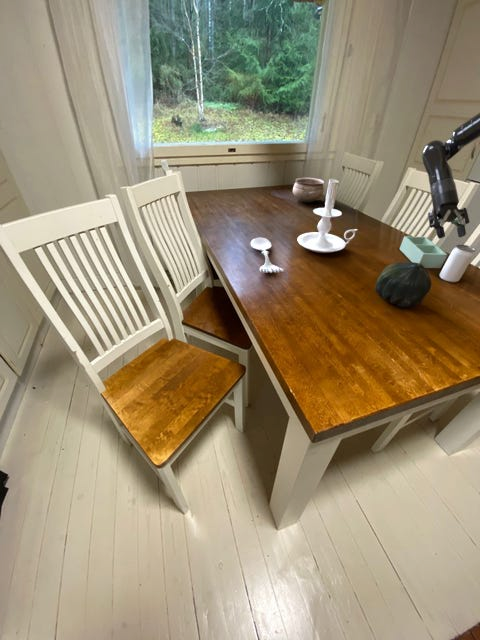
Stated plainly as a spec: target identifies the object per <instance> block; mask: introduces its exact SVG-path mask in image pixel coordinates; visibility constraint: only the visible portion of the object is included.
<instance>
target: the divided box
mask: <svg viewBox="0 0 480 640" xmlns="http://www.w3.org/2000/svg"><path fill="white" fill-rule="evenodd" d="M399 250H400V252H401V253H403V255H404V256H406V258H407V259H408V260H409V262H415V263H420V264H421V265H423V266H424V268H425V269H441V268H442V266H444V265H443V264H445V262H446V260H447V257H448V253H446V252H445V251H444V250H443V249H441V248H440V247H439V246H437V245H436V244H435V243H434V242H433V241H431V240H430V239H429V238H428V237H427V236H407V235H406V236H405V235H404V236H403V239H402V242H401V244H400V246H399Z"/></svg>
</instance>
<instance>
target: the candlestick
mask: <svg viewBox="0 0 480 640" xmlns="http://www.w3.org/2000/svg"><path fill="white" fill-rule="evenodd" d="M339 184H340V181H339V180H337V179H335V178H329V179H328V184H327V188H326V195H325V202H324V205H325V206H324V207H318V208H317V207H316V208H314V209H313V210H312V212H313V213H314V214H315V215H317V216H320V217H321V219H320V221H318V223H317V226H316V228H317V231H318V232H315V231H314V232H313V231H312V232H306V233H302V234H299V236H298V237H297V238H296V239H297V243H298V244H299V245H300V246H302V247H303V248H305V249H307V250H309V251H311V252H315V253H319V254H329V253H334V252H338V251H341V250H343V249H345V248H346V246H347V245H348V244H350V241H352V240H353V239H354V238H355V236H356V232H357V231H358V229H357V228H354V229H347V230H346V231H345V232H344V234H343V237H344V239H345V240H346V242H345V240H344V239H343V238H341V237H340V236H337V235H334V234H331V233H329V232H330V231H331V230H332V221H331V218H336V217H340V216H342V214H343V212H342V211H340V210H338V209H335V202H336V197H337V193H338V188H339V186H340V185H339ZM350 232H351V233H352V236H351V237H347V235H348V233H350Z"/></svg>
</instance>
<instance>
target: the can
mask: <svg viewBox="0 0 480 640" xmlns="http://www.w3.org/2000/svg"><path fill="white" fill-rule="evenodd" d="M475 252H476V248H475V247H473V246H470V245H467V244H456V245H455V247H453V249H452V250H451V252H450V254H449V256H448V258H446V260H445V262H444V265H443V267H442V269H441V271H440V272H439V278H440V279H442V280H443V281H446V282H449V283H457V282H459V281H460V280H461V279H462V277H463V275H464V273H465V272H466V270H467V268H468V266H469V265H470V264H471V261H472V260H473V258H474V256H475Z"/></svg>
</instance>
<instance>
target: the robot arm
mask: <svg viewBox="0 0 480 640" xmlns="http://www.w3.org/2000/svg"><path fill="white" fill-rule="evenodd" d="M479 138H480V112H478V113H477V114H475V115H474V116H472V117H470V118H469V119H468V120H466V121H465V122H463V123H462V124H460V125H458V126H457V127H456V128H455V129H454V130H453V131H452V133H451V137H450V138H449V139H447V140H446V141H445V142H443V141H442V140H439V139H434V140H430V141H429V142H428V143H427V144H426V145H425V146H424V148H423V149H422V152H421V159H422V163H423V167H424V168H425V171H426V174H427V177H428V184H429V188H430V198H431V203H432V208H433V209H432V210H430V211H429V212H428V213H427V215H428V216H427V217H428V224H429V228H430V229H432V228H434V230H435V232H436V236H437V239H438V240H439V239H443V238H445V237H446V232H445V228H444V224H445V223H451V224H452V225H454V226H455V227H456V231H457V236H458V238H463V237H466V234H467V231H466V225H467V224H469V223H470V218H469V213H468V210H467V208H466V207H462V208H459V207H458V204H459V202H460V199H459V194H458V190H457V185H456V182H455V179H454V174H453V170H452V167H451V165H450V164H449V162H448V161H450V160H451V159H452V158H454V156H456V155H458V153H459V152H461V151H462V149H464V148H465V147H466V146H468V145H469V144H471V143H473V142H475V141H476V140H478V139H479Z"/></svg>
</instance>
